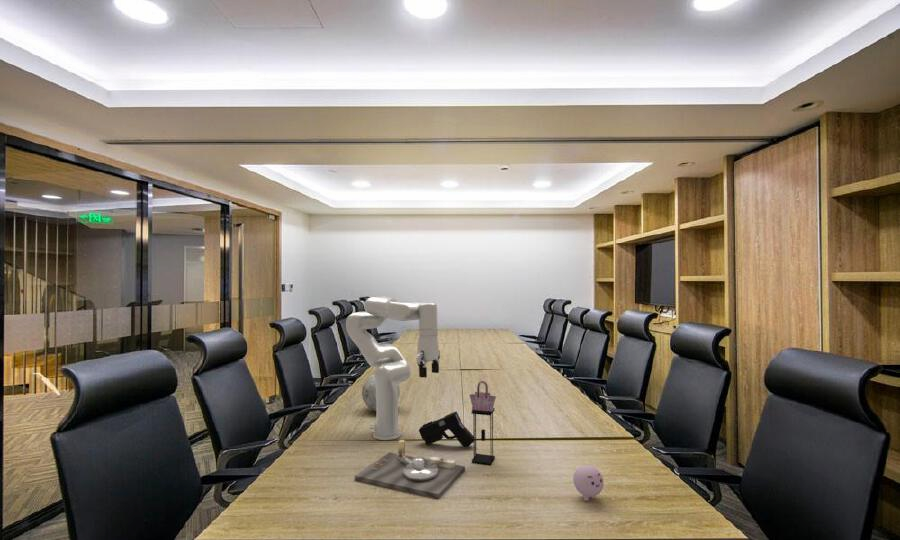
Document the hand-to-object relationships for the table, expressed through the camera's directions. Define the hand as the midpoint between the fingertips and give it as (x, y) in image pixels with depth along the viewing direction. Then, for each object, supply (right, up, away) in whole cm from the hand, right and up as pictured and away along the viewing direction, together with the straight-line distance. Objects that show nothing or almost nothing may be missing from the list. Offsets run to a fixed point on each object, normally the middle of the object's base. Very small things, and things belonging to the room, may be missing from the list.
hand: (429, 374), depth 176 cm
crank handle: (-5, -28, -22) cm, 36 cm away
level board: (-5, -30, -24) cm, 38 cm away
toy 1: (+7, -31, +3) cm, 31 cm away
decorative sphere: (-28, -32, +52) cm, 67 cm away
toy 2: (+52, -29, -41) cm, 72 cm away
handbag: (+21, -30, -12) cm, 38 cm away
